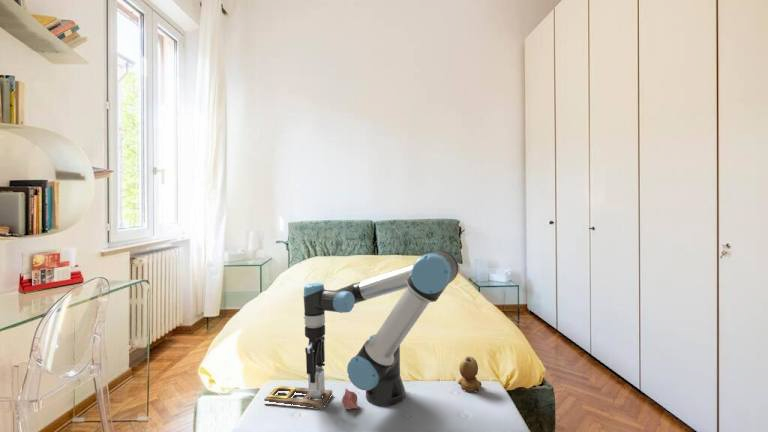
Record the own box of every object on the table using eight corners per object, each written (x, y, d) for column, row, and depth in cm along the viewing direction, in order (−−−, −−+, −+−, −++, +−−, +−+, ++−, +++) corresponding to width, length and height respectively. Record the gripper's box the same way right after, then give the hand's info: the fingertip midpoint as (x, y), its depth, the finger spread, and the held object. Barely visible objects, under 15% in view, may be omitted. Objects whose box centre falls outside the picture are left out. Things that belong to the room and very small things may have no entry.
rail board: (332, 395, 136) (332, 389, 136) (322, 409, 126) (322, 402, 126) (277, 390, 140) (277, 384, 140) (264, 404, 131) (264, 397, 131)
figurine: (485, 386, 140) (482, 353, 137) (480, 399, 134) (476, 365, 131) (462, 381, 146) (458, 349, 143) (455, 392, 139) (451, 359, 136)
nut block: (324, 392, 134) (324, 367, 134) (320, 398, 129) (319, 372, 129) (313, 391, 134) (312, 367, 135) (308, 397, 130) (308, 372, 130)
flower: (335, 395, 125) (348, 385, 125) (340, 393, 132) (352, 384, 133) (347, 416, 122) (360, 405, 122) (351, 413, 129) (364, 404, 130)
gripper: (314, 318, 141) (316, 376, 141) (295, 332, 124) (297, 398, 124) (332, 318, 140) (334, 377, 140) (315, 333, 123) (317, 399, 123)
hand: (316, 387), depth 132 cm, fingers closed on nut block, 4 cm apart
